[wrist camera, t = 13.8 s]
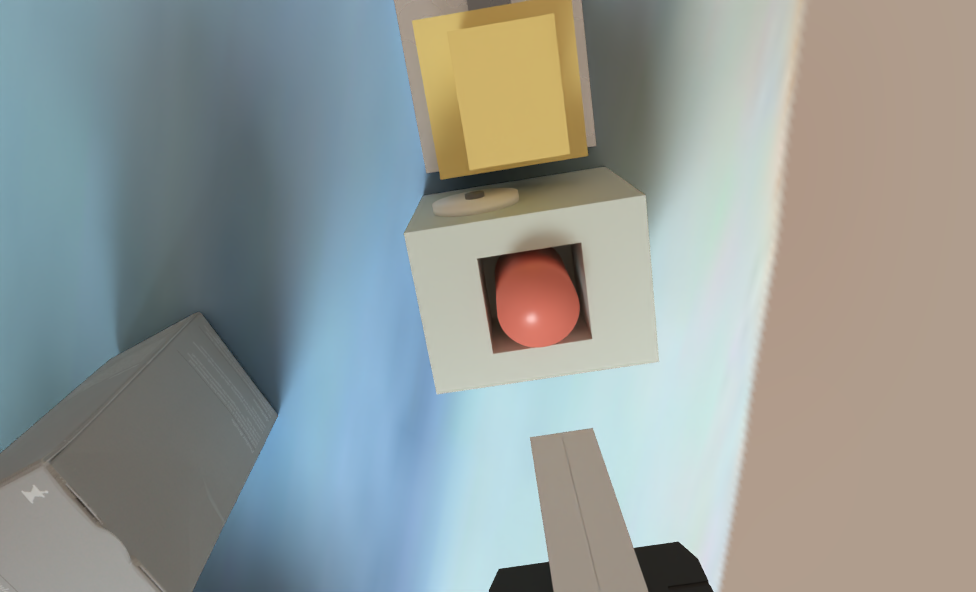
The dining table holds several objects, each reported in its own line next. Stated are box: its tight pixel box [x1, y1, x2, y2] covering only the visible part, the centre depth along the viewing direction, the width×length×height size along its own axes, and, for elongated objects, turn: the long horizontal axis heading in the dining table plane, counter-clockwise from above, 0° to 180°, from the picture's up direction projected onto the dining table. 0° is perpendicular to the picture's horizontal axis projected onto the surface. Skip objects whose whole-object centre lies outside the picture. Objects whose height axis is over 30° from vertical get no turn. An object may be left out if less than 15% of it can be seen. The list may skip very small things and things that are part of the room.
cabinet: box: [404, 167, 659, 394], centre depth 32 cm, size 10×8×9 cm
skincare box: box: [0, 312, 278, 592], centre depth 31 cm, size 8×7×16 cm
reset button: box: [495, 247, 580, 348], centre depth 29 cm, size 3×3×5 cm
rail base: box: [394, 0, 596, 173], centre depth 31 cm, size 9×15×3 cm, turn 9°
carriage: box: [412, 0, 588, 180], centre depth 27 cm, size 7×7×11 cm
